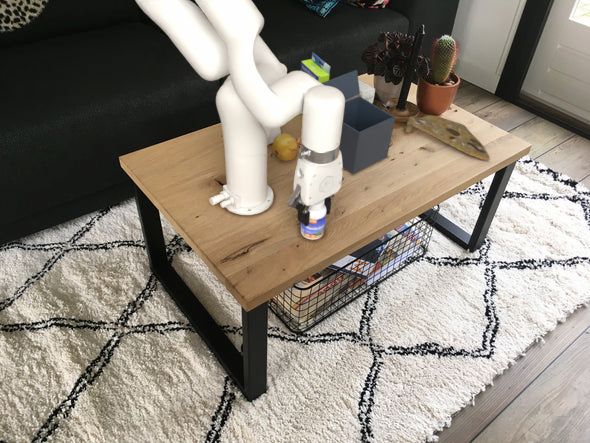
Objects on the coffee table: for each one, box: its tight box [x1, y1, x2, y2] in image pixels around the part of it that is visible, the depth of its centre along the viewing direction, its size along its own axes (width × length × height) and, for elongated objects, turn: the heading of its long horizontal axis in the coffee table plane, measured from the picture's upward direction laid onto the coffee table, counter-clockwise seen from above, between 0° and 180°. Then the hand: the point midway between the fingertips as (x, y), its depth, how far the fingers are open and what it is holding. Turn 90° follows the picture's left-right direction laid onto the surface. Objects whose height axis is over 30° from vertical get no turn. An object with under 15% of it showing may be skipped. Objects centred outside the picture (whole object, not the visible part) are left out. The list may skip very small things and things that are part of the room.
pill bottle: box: [300, 199, 327, 241], centre depth 111 cm, size 5×5×10 cm
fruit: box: [270, 133, 301, 162], centre depth 132 cm, size 7×7×10 cm
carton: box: [339, 96, 396, 175], centre depth 133 cm, size 13×13×12 cm
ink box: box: [345, 79, 376, 104], centre depth 145 cm, size 8×5×12 cm, turn 39°
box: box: [300, 52, 331, 83], centre depth 145 cm, size 10×4×17 cm, turn 29°
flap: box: [322, 69, 360, 100], centre depth 130 cm, size 13×6×1 cm
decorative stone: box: [404, 114, 491, 161], centre depth 144 cm, size 25×15×5 cm, turn 51°
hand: (313, 216), depth 111 cm, fingers closed on pill bottle, 5 cm apart
